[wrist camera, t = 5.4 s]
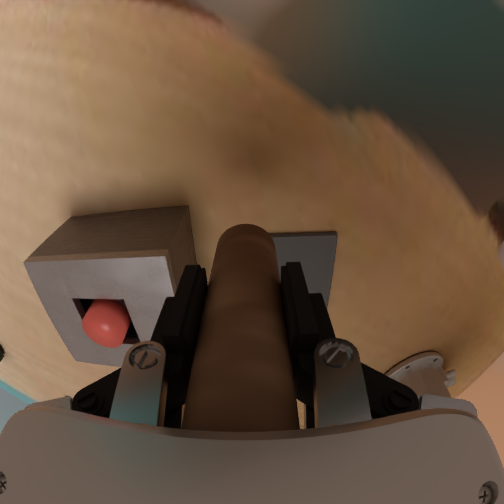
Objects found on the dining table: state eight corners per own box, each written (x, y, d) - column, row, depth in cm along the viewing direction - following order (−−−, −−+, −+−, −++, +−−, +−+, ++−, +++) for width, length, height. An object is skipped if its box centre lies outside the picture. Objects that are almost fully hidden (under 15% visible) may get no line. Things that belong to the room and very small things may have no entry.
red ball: (127, 288, 19) (114, 315, 17) (139, 321, 21) (129, 349, 19) (90, 288, 19) (75, 313, 17) (104, 320, 21) (92, 345, 19)
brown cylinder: (275, 222, 14) (318, 499, 3) (275, 274, 15) (299, 515, 5) (214, 225, 14) (151, 494, 3) (219, 276, 15) (187, 514, 5)
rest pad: (335, 232, 24) (337, 235, 24) (325, 308, 29) (326, 312, 28) (233, 235, 24) (232, 239, 24) (239, 314, 29) (239, 318, 28)
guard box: (188, 205, 23) (165, 256, 16) (204, 307, 28) (195, 371, 21) (70, 217, 23) (23, 262, 16) (102, 307, 28) (75, 360, 21)
